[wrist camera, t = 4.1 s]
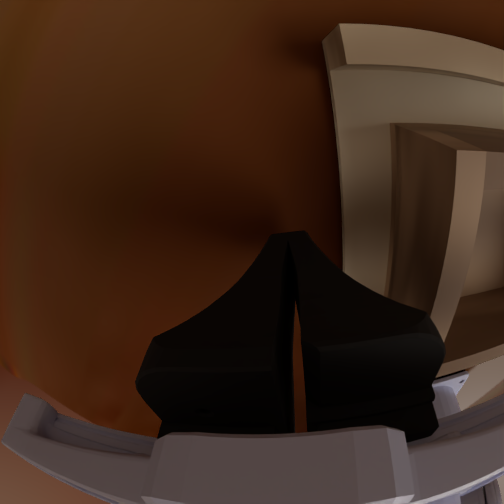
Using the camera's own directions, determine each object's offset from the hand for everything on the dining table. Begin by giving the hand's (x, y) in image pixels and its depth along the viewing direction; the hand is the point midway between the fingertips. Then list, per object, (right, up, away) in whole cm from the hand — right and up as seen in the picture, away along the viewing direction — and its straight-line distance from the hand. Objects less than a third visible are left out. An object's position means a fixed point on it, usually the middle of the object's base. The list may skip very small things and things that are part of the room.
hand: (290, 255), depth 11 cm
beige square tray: (+9, +1, -1) cm, 9 cm away
